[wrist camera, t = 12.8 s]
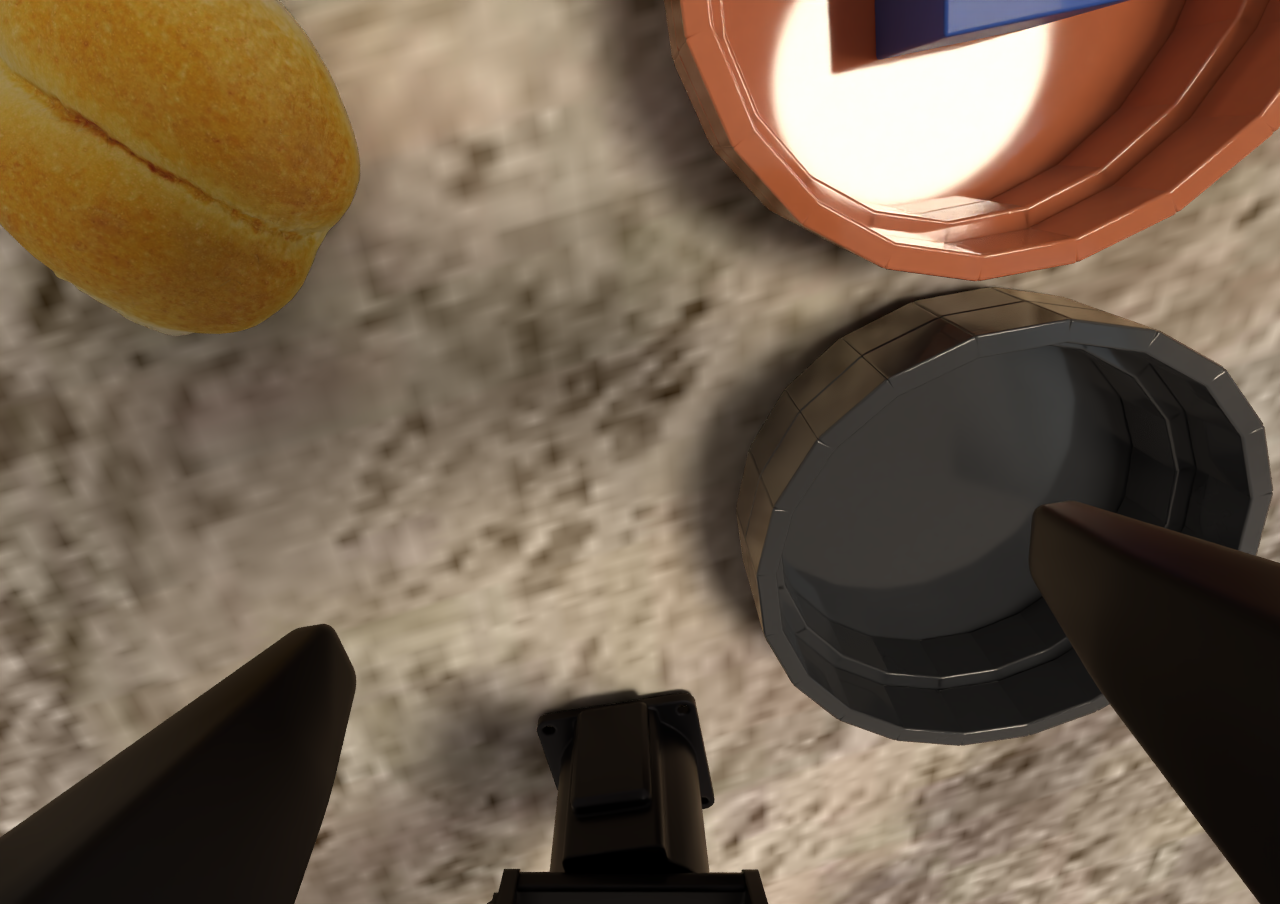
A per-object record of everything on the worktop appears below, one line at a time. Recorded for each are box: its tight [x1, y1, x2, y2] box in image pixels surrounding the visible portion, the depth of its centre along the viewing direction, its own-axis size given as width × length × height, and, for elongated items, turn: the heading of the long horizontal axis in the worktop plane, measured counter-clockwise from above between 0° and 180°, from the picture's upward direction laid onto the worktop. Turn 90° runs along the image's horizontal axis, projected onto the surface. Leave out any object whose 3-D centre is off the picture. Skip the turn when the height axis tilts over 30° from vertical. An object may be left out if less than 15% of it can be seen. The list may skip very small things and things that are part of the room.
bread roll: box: [0, 0, 360, 336], centre depth 16 cm, size 8×9×4 cm
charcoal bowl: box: [736, 287, 1273, 746], centre depth 21 cm, size 14×14×4 cm
